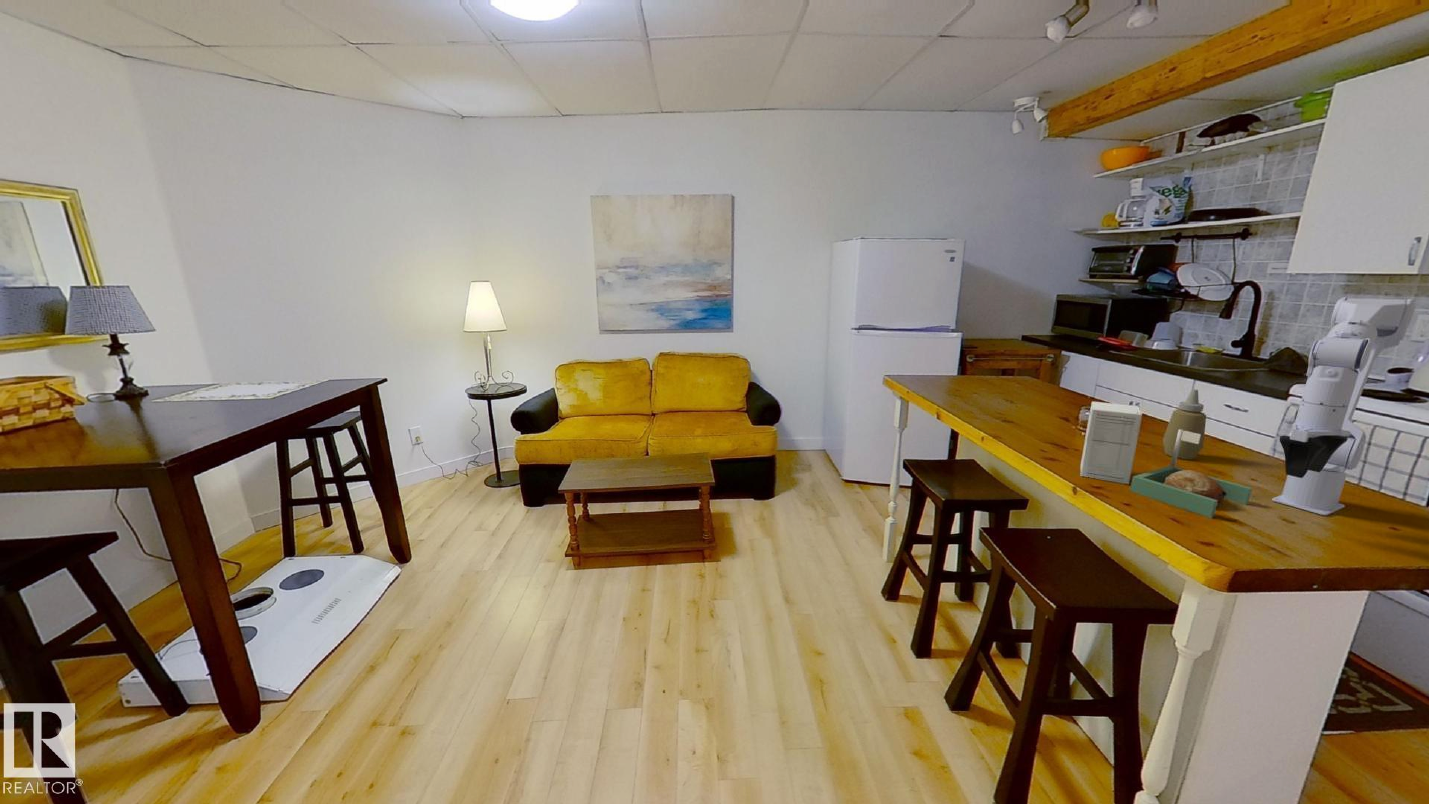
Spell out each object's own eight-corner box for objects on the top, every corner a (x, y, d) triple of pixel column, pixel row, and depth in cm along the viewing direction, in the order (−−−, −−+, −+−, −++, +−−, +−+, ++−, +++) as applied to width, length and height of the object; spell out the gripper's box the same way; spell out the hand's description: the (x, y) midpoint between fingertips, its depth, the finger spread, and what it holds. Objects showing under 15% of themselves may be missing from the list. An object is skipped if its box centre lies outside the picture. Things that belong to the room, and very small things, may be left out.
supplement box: (1126, 472, 125) (1140, 405, 121) (1130, 485, 118) (1145, 414, 114) (1079, 464, 131) (1090, 400, 127) (1079, 476, 123) (1091, 408, 119)
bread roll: (1163, 502, 118) (1150, 469, 118) (1223, 493, 112) (1210, 459, 112) (1170, 519, 110) (1157, 484, 110) (1235, 511, 104) (1221, 473, 104)
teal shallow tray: (1167, 479, 121) (1179, 428, 118) (1248, 503, 109) (1263, 447, 106) (1129, 491, 115) (1141, 437, 112) (1210, 517, 102) (1225, 458, 99)
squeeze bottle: (1152, 450, 141) (1166, 386, 137) (1185, 451, 140) (1200, 386, 135) (1173, 460, 133) (1189, 393, 129) (1208, 462, 132) (1225, 394, 128)
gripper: (1340, 412, 88) (1317, 486, 91) (1372, 404, 94) (1350, 475, 97) (1283, 403, 94) (1263, 473, 97) (1316, 396, 100) (1297, 462, 103)
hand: (1303, 473), depth 98 cm, fingers open, 7 cm apart
